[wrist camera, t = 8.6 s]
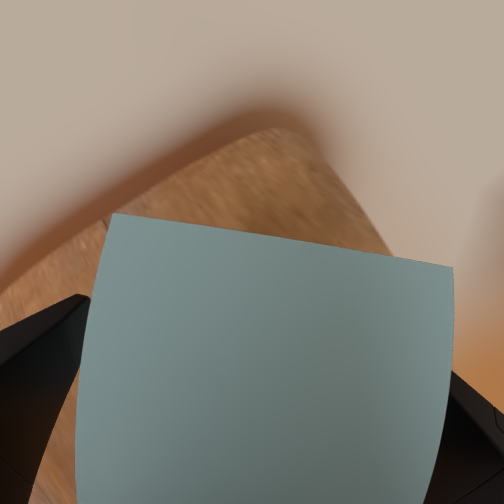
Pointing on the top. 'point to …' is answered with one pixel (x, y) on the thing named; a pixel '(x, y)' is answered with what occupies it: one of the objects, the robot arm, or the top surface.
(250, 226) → the top surface
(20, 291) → the top surface
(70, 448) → the top surface
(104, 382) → the pillar
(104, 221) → the top surface
